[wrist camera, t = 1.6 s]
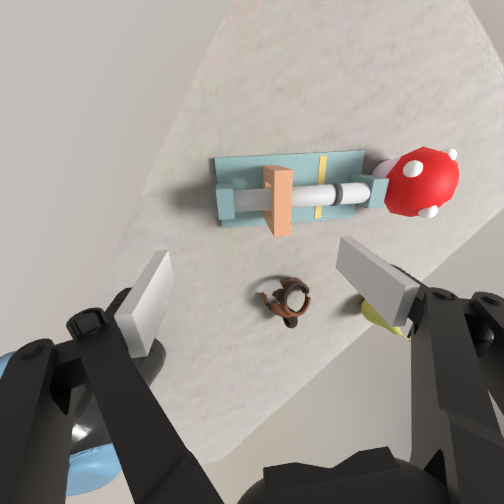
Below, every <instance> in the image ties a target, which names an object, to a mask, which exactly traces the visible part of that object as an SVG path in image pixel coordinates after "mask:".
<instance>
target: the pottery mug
mask: <svg viewBox="0 0 504 504" xmlns="http://www.w3.org/2000/svg"><path fill="white" fill-rule="evenodd" d="M280 282H281V283H282V286H283V289H278V290H277V291H274V292H273V294H272V296H274V297H276V299H277V300H278V301H279V302H280V304H277V303H271V305H270V304H269V303H268V301H267V295H266V294H264V293H263V292H262V299H263V301H264V303H265V304H266V306H267V307H268V308H269V309H270V310H271V311H272V312H274V313H275V314H277V315H278V316H281V317H282V318H283V321H284V323H285V325H286V326H287V327H288V328H294V327H296V326H297V323H298V320H297V317H298V316H300V315H302V314H303V313H304V312H305V311H306V310H307V309H308V307H309V304H310V300H311V298H310V297H308V296H307V293H309V288H308V287H307V286H306V284H304V283H303V282H302V281H301V280H300V279H298V278H290V279H287V280H280ZM295 286H300V288H301V291H302V292H303V293H305V301H304V304H303V306H302V308H301V309H300V310H299V311H297V312H295V311H293V310H292V309H290V308H289V307H288V306H287V296H288V293H289V291H290V290H291V289H292V288H293V287H295Z"/></svg>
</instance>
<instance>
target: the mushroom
mask: <svg viewBox="0 0 504 504" xmlns="http://www.w3.org/2000/svg"><path fill="white" fill-rule="evenodd" d="M456 154H457V153H456V151H455V150H454V149H450V148H448V149H444V150H442V151H437V150H433V149H430V148H426V147H421V148H419V149H417V150H415V151H412V152H410V153H408V154H406V155H404V156H401V158H395V159H390V160H386V161H384V162H381V163H380V164H379V165H378V166H377V167H375V168H374V170H373V172H372V173H371V176H377V177H382V178H388V179H389V182H388V186H387V190H386V194H385V199H384V203H385V204H386V206H387V208H388V210H389V211H390V213H394V214H399V215H403V216H409V217H412V216H419V215H420V216H421V217H422V218H432V217H433V216H434V215H436V213H437V211H438V208H439V207H440V206H442V205H443V204H445V203H446V202H447V201H449V200H450V199H451V198H452V196H453V194H454V191H455V189H456V187H457V184H458V180H459V170H458V164H457V162H456V161H455V160H454V159H455V158H456Z"/></svg>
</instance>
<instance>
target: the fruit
mask: <svg viewBox="0 0 504 504" xmlns="http://www.w3.org/2000/svg"><path fill="white" fill-rule="evenodd" d="M361 311H362V314H363V315H364V317H365V318H366V319H367V320H369V321H370V322H372V323H375V324H378V325H381V326H383V327H384V328H386V329H388V330H389V331H391V332H392V333H394V334H396V335H401V336H402V337H404V338H405V339H407V340H408V341H410V342H411V339H409V338H407V337H406V336H404V335H403V334H402V333H401V330H400V329H399V327H391V326H390V325H389V324H388V323H387V322H386V321H385V320H384V319H383V318H382V317H381V315H380V314H379V313H378V312H377V311H376V310H375V309H374V308H373V307H372V306H371V305H370V304H369V303H368V302H367V301H366V299H365V300H364V301H363V302H362V304H361Z"/></svg>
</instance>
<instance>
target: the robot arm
mask: <svg viewBox="0 0 504 504" xmlns="http://www.w3.org/2000/svg"><path fill="white" fill-rule="evenodd" d="M336 268H337V270H338V271H339V272H340V273H341V274H342V275H343V276H344V277H345V278H346V279H347V280H348V281H349V282H350V283H351V284H352V286H353V287H354V288H355V289H356V290H357V291H358V292H359V293H360V294H361V295H362V296H363V297H364V298H365V299H366V301H367V302H368V303H369V304H370V305H371V306H372V307H373V308H374V309H375V310H376V311H377V312H378V313H379V314H380V315H381V317H382V318H383V319H384V320H385V321H386V322H387V323H388V324H389V325H390V326H391V327H399V326H405V323H406V320H407V318H409V319H410V320H411V321H413V324H412V326H411V329H410V331H409V334H408V336H407V338H410V336H411V392H412V393H411V394H412V395H411V399H412V401H411V402H412V403H411V404H412V452H411V458H410V462H406V461H404V460H401V459H398V458H394V457H393V455H392V453H391V451H390V449H389V448H388V446H387V447H381V448H375V449H369V450H364V451H358V452H357V453H355V454H354V455H352V456H351V457H349V458H347V459H346V460H344V461H343V462H341V463H340V464H338V465H336V466H335V467H333V468H324V467H319V466H313V465H308V464H302V463H296V462H295V463H288V464H282V465H277V466H270V467H265V468H263V476H264V477H263V479H261V480H259V481H258V482H256V483H255V484H254V485H253V486H251V487H250V488H249V489H248V490H247V491H246V492H245V494H244V495H243V496H242V497H241V499H240V500H239V502H238V503H237V504H504V438H503V436H502V434H501V431H500V428H499V425H498V422H497V418H496V415H495V412H494V409H493V406H492V402H491V399H490V396H489V393H488V391H489V392H490V394H491V396H492V397H493V399H494V400H495V402H496V403H497V405H498V407H499V409H500V410H501V412H502V413H503V415H504V298H502V297H500V296H498V295H494V294H492V293H487V292H475V293H474V294H473V296H472V298H471V299H462V298H458V297H457V296H456V295H455V294H453V293H451V292H449V291H447V290H444V289H441V288H434V287H432V288H429V287H427V286H426V285H424V284H423V283H421V282H420V281H418V280H417V279H415V278H414V277H411V275H409V274H408V273H406V272H405V271H404V270H402V269H401V268H399V267H397V266H394V265H392V264H389V263H388V262H386V261H385V260H383V259H382V258H380V257H379V256H378V255H376V254H375V253H373V252H372V251H370V250H369V249H368V248H366V247H365V246H363V245H362V244H360V243H359V242H357V241H356V240H355V239H353V238H352V237H350V236H349V237H341V239H340V245H339V251H338V257H337V263H336ZM174 284H175V278H174V274H173V270H172V265H171V261H170V257H169V252H168V250H163V251H157V252H156V253H155V255H154V256H153V258H152V259H151V261H150V262H149V264H148V265H147V267H146V268H145V270H144V271H143V273H142V274H141V276H140V277H139V279H138V280H137V282H136V283H135V285H134V286H133V287H132V288H125V289H124V290H122V291H121V292H120V293H118V294H117V296H116V297H115V299H114V301H112V303H111V304H110V306H109V307H108V308H107V309H106V311H105V312H104V311H103V309H101V308H89V309H86V310H84V311H81V312H79V313H78V314H75V315H74V316H73V317H71V318H70V319H69V321H68V322H67V325H66V327H67V329H68V331H69V333H70V334H71V336H72V338H73V340H70V341H66V342H64V343H60V344H57V345H55V344H54V343H53V341H52V340H50V339H39V340H36V341H33V342H31V343H28V344H26V345H25V346H23V347H21V348H20V349H18V351H14V352H10V353H7V354H5V355H3V356H1V357H0V504H65V499H66V496H73V495H79V494H83V493H87V492H91V491H94V490H96V489H99V488H101V487H103V486H105V485H107V484H108V483H110V482H111V481H112V480H113V479H114V478H115V477H116V476H117V475H118V474H119V472H120V470H121V468H122V470H123V473H124V476H125V478H126V481H127V483H128V486H129V489H130V492H131V494H132V497H133V500H134V503H135V504H224V502H223V500H222V499H221V497H220V496H219V494H218V493H217V491H216V489H215V488H214V486H213V485H212V483H211V481H210V480H209V478H208V477H207V475H206V474H205V472H204V471H203V469H202V467H201V466H200V464H199V462H198V461H197V459H196V458H195V456H194V455H193V454H192V453H191V452H190V451H189V450H188V449H187V448H186V446H185V445H184V443H183V442H182V440H181V438H180V437H179V435H178V434H177V432H176V430H175V429H174V427H173V426H172V424H171V422H170V421H169V419H168V418H167V416H166V414H165V413H164V411H163V409H162V408H161V406H160V405H159V403H158V401H157V400H156V398H155V397H154V395H153V393H152V392H151V390H150V389H149V387H150V385H151V384H152V382H153V381H154V379H155V378H156V376H157V375H158V373H159V372H160V370H161V369H162V367H163V364H164V360H165V356H166V353H165V349H164V347H163V346H162V344H161V343H160V342H159V341H158V340H156V339H155V338H154V337H155V335H156V332H157V329H158V327H159V324H160V321H161V319H162V316H163V313H164V311H165V308H166V305H167V303H168V300H169V297H170V295H171V292H172V289H173V287H174ZM493 335H494V339H492V336H493ZM487 389H488V390H487Z"/></svg>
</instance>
